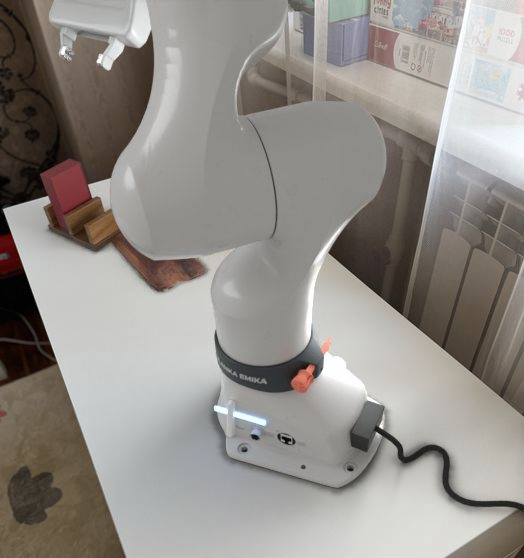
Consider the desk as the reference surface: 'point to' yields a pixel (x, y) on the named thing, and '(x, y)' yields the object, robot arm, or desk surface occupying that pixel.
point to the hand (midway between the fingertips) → (83, 63)
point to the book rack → (86, 224)
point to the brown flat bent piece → (160, 266)
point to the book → (66, 188)
